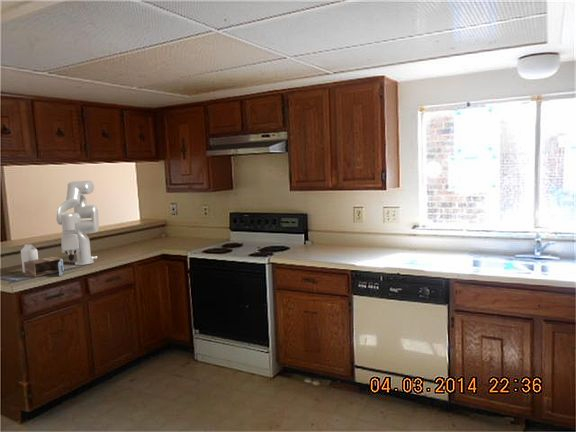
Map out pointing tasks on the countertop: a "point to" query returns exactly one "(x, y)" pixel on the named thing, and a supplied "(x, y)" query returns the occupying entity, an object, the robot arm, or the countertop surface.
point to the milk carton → (28, 254)
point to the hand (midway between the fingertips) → (71, 260)
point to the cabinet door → (60, 267)
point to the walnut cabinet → (41, 266)
